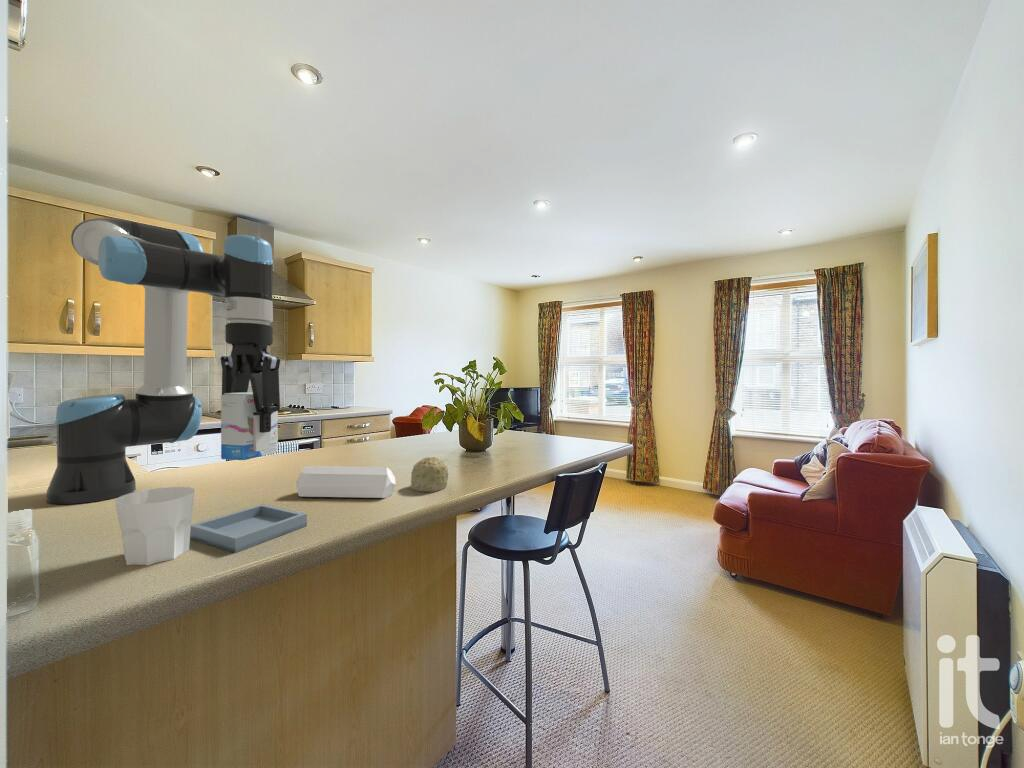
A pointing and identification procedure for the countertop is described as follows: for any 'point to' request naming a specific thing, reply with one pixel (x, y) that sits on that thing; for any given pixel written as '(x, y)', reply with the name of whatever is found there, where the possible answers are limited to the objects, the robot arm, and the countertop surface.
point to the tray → (247, 527)
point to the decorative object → (429, 475)
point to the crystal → (345, 482)
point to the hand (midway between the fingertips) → (250, 448)
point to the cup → (155, 524)
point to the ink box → (242, 427)
